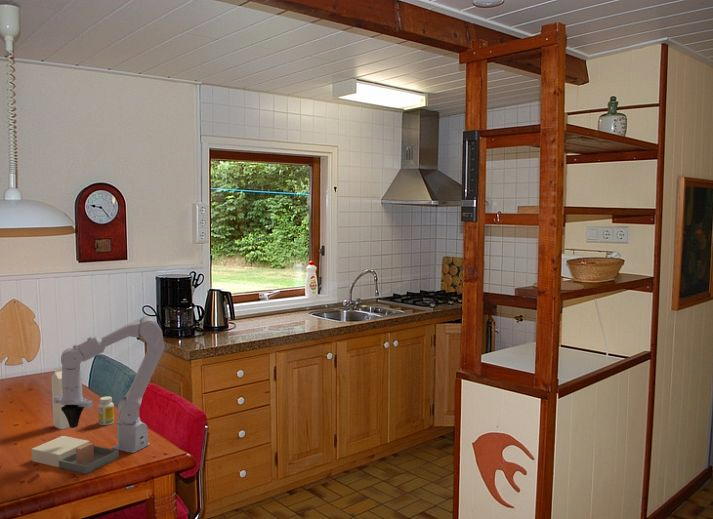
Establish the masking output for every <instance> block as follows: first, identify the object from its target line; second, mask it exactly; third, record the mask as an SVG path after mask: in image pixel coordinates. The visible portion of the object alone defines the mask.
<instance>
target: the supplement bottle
mask: <svg viewBox="0 0 713 519" xmlns="http://www.w3.org/2000/svg"><path fill="white" fill-rule="evenodd" d="M112 401H113V398H112V396H106V395H105V396H102V397H100V399H99V404H98V405H97V406H98V407H97V409H98V410H97V411H98V424H99V426H108V425H112V424H113V423H115V405H114V402H112Z"/></svg>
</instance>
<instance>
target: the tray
mask: <svg viewBox="0 0 713 519" xmlns="http://www.w3.org/2000/svg"><path fill="white" fill-rule="evenodd" d="M119 452H120V450H116V449H112V448H108V447H103V446H99V445H94V459H92V460H90V461H88V462H86V463H84V464H82V465H81V464H77V462H76V453H74V454H72V455H70V456H68V457H65V458H63V459H61V460H59V467H58V469H60V470H64V471H70V472H74V473H76V474H77V473H78V474H81V473H82V474H83V475H89V474H90V473H93V472H94V471H96V470H98V469H100V468H102V467H104V466H106V465H109V464H110V463H112V462H114V461H115V460H118V459H119V458H120V453H119ZM82 474H81V475H82Z"/></svg>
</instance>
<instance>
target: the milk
mask: <svg viewBox="0 0 713 519" xmlns="http://www.w3.org/2000/svg"><path fill="white" fill-rule="evenodd" d="M62 372H63V371H62V366H61V367H57V368H55V369H54V373H53V374H52V375H51V376H50V377H51V398H52V399H51V400H52V401H51V402H52V419H53V420H52V422H53V424H52V425H53V427H55V428H57V429H58V430H64V429H68V428H70V426H69V423H68V420H67V418H66V416H65V414H64V413H63V411H62V410H61V408H62V407H64V405H61V403H54V397H56V396H63V391H62Z"/></svg>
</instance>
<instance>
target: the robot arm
mask: <svg viewBox="0 0 713 519" xmlns="http://www.w3.org/2000/svg"><path fill="white" fill-rule="evenodd" d="M139 335H140V336H141V337H142V338H143V339H144V340H145V342H146V343H147V346H148V348H147V350H146V352H145V355H144V356H143V359H142V360H141V363H140V366H139V368H138V369H137V372H136V375H135V376H134V379H133V381H132V382H131V385H130V386H129V390H128V391H127V392H126V393H125V395H124V397H123V398H122V399H120V401H119V402H118V404H117V408H116V409H117V412H118V418H117V420H116V429H117V430H116V432H117V433H116V434H117V436H116V437H117V443H116V444H115V445H114V446H111V449H114V450H119V451H122V452H127V453H131V454H132V453H136V452H138V451H140V450H143V449H144V448H146V447H148V446H149V445H150V444H151V443H150V442H149V429H148V425H147V424H146V423H145V422H143V421H141V418H140V407H141V406H142V405H141V404H142V400H143V396H144V394H145V392H146V389H147V387H148V386H149V384H150V381H151V379H152V377H153V374H154V373H155V370H156V368H157V365H158V364H159V361H160V359H161V357H162V354H163V352H164V350H165V347H166V346H165V342H164V341H165V340H164V336H163V335H164V334H163V330H162V328H161V327H160V325H159V324H158V322H157V321H156V319H155V318H154V317H152V316H148V315H147V316H143V317H141V318H140V319H139V318H138V319H135V320H133V321H131V322H129V323H127V324H125V325H123V326H122V327H119V328H117V329H115V330H114V331H112V332H110V333H109V334H106V335H105V336H102V337H98V336H94V337H92V336H89V337H88V338H87V340H85V341H84V342H81V343H79V344H74V345H72V347H68V348H66V349H64V350H63V351H62V352H61V353H62V354H61V356H60V363H61V365H62V366H61V367H62V371H63V372H62V391H63V396H56V397H54V403H61V405H64V407H62V408H61V410H62V411H63V413H64V414H65V416H66V418H67V420H68V423H69V426H70V427H69V428H70V429H74V428H77V427H79V422H80V419H81V415H82V412H83V410H84V409H90V408H93V400H89V399H86V398H85V397H83V379H82V377H83V376H82V370H81V364H82V362H86V361H88V360H91V359H92V358H94V357H97V356H99V355H102V353H104V352H105V350H106V347H108V346H110V345H114V344H115V343H118V342H120V341H122V340H124V339H126V338H129V337H131V338H137V339H138V338H140V336H139Z"/></svg>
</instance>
